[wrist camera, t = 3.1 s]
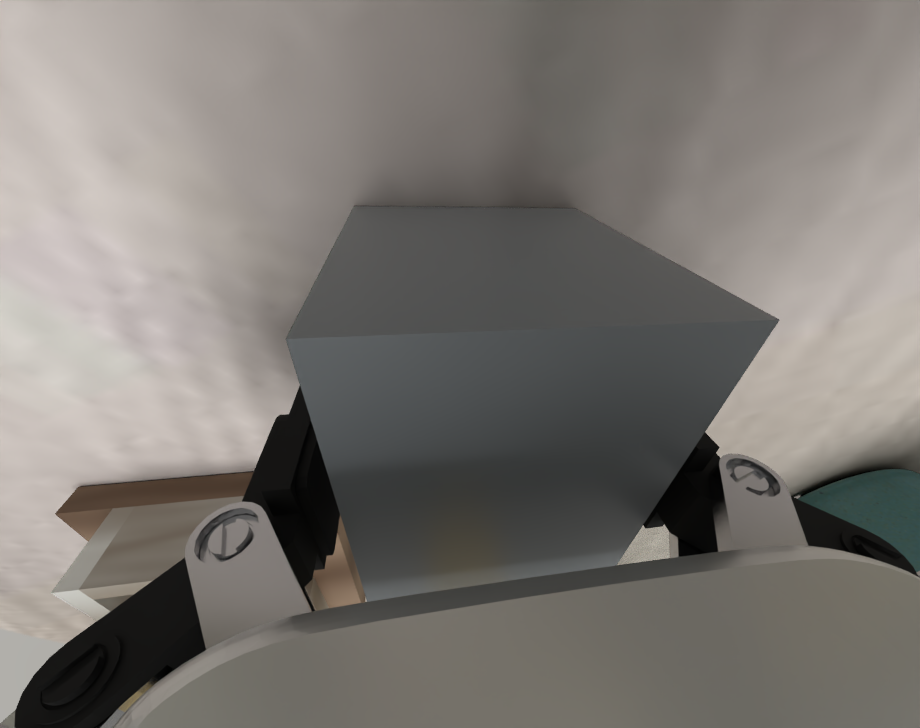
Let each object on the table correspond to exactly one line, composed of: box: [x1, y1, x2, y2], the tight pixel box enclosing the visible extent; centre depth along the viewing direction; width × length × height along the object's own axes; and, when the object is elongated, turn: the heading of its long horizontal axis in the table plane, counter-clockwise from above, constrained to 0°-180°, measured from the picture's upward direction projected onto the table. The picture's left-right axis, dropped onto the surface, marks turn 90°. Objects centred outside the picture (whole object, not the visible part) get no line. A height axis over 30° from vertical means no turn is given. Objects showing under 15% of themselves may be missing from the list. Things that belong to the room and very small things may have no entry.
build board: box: [51, 472, 365, 621], centre depth 17 cm, size 14×10×4 cm
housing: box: [286, 206, 779, 602], centre depth 10 cm, size 10×6×7 cm, turn 178°
